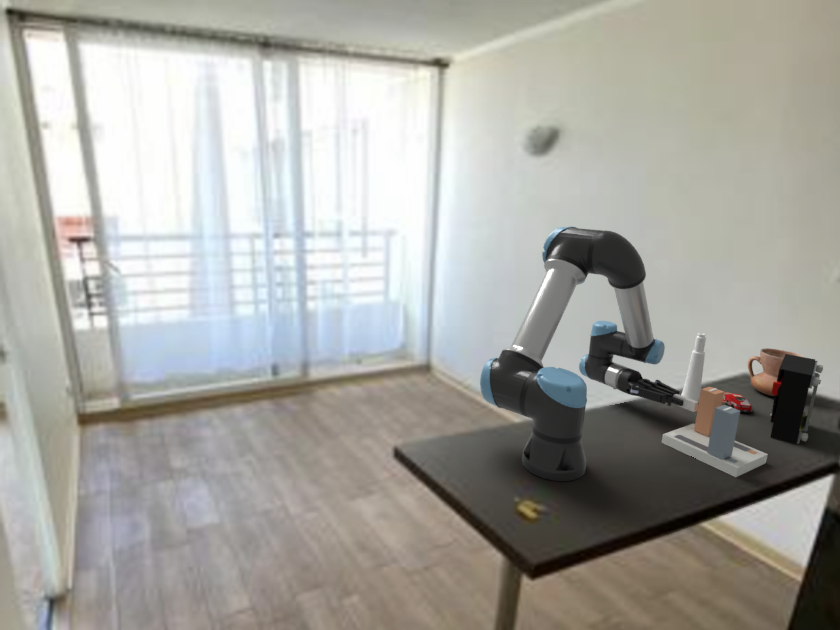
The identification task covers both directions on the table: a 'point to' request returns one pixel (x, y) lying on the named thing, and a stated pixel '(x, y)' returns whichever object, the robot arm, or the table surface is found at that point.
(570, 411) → the robot arm
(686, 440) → the switch plate
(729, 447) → the slate switch
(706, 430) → the terracotta switch
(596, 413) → the table surface
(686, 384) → the cosmetic bottle
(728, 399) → the race car
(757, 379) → the ceramic jug
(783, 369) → the electrical component
